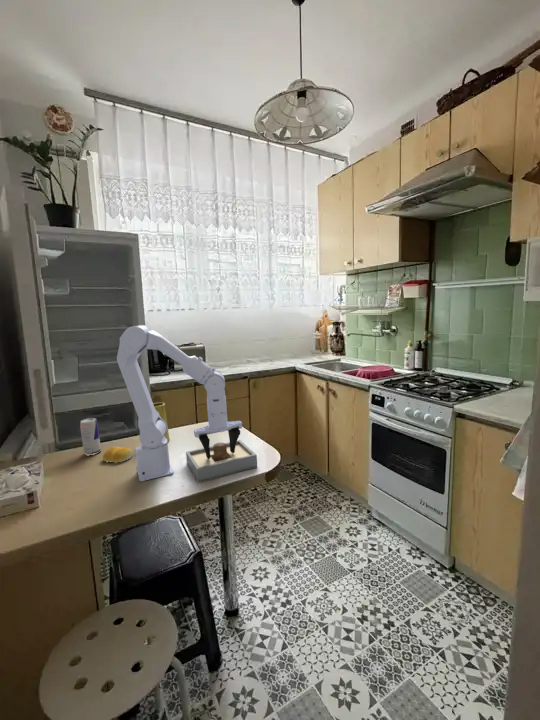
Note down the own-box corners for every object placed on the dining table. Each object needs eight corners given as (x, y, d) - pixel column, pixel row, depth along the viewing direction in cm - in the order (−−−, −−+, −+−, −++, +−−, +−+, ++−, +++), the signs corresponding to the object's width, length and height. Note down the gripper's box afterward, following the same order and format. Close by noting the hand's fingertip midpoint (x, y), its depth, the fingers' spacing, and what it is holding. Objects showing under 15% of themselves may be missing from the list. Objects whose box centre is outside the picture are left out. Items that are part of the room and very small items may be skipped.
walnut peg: (217, 467, 107) (215, 448, 106) (212, 462, 110) (211, 444, 109) (229, 464, 109) (228, 445, 108) (225, 459, 112) (223, 441, 111)
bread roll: (122, 465, 114) (120, 453, 114) (99, 463, 117) (97, 451, 116) (138, 454, 122) (137, 443, 121) (116, 452, 124) (114, 442, 124)
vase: (152, 439, 135) (148, 403, 133) (169, 437, 136) (165, 401, 134) (152, 445, 129) (148, 407, 127) (170, 442, 131) (166, 405, 129)
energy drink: (104, 450, 127) (100, 417, 125) (95, 456, 122) (91, 422, 120) (90, 450, 128) (85, 417, 126) (80, 456, 122) (76, 422, 121)
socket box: (198, 482, 99) (197, 469, 99) (187, 463, 112) (185, 451, 111) (257, 467, 107) (256, 454, 106) (240, 451, 120) (239, 440, 119)
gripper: (196, 419, 100) (200, 465, 102) (244, 410, 106) (247, 454, 108) (190, 413, 107) (194, 456, 109) (236, 405, 113) (239, 446, 115)
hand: (220, 454), depth 109 cm, fingers open, 7 cm apart
